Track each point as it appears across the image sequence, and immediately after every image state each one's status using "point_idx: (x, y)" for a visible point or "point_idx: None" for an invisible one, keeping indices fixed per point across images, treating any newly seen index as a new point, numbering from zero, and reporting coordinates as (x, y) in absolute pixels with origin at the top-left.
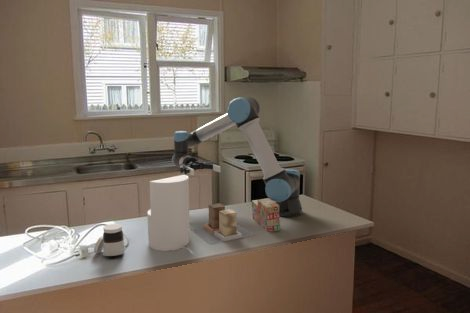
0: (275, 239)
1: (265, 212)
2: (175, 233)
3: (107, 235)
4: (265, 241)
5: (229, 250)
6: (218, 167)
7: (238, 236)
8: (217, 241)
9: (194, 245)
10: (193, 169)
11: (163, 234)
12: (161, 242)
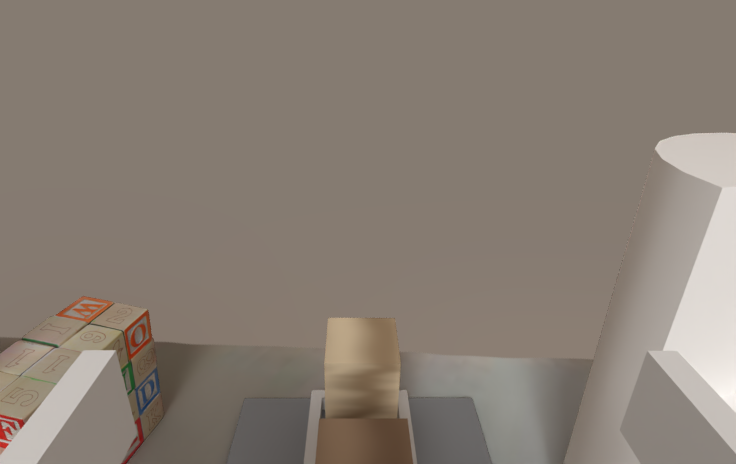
0: (204, 356)
1: (141, 348)
2: None
3: None
4: (250, 358)
5: (412, 354)
6: (108, 382)
7: None
8: (431, 410)
9: (537, 440)
10: (664, 359)
11: None
12: None
